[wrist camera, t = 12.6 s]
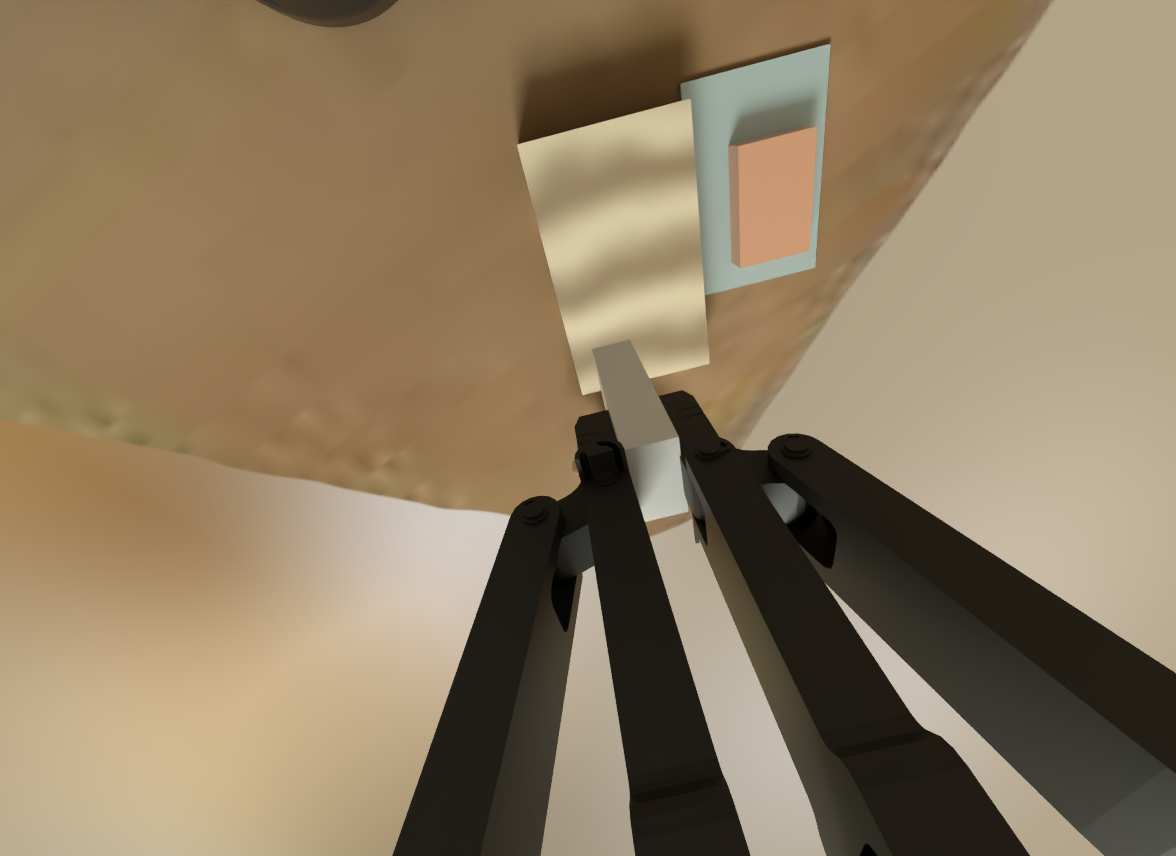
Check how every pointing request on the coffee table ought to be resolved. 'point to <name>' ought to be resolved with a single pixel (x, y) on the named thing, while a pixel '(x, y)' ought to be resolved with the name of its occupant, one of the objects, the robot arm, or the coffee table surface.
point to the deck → (624, 237)
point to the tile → (771, 195)
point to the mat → (743, 113)
